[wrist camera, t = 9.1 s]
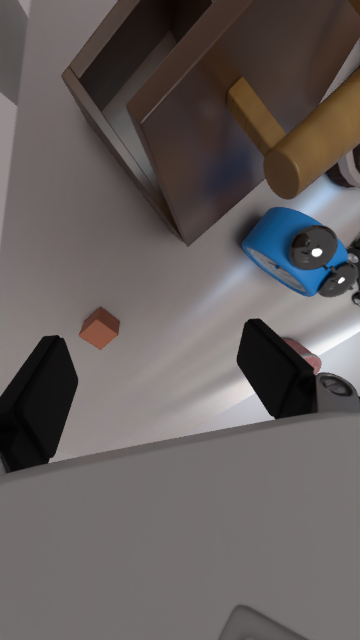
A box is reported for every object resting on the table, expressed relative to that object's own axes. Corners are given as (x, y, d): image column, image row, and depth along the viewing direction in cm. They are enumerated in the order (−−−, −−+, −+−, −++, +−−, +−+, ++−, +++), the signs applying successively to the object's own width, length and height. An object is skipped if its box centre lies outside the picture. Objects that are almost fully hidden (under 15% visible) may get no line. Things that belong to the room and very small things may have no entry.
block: (84, 321, 35) (78, 335, 31) (100, 306, 34) (96, 319, 30) (103, 335, 37) (100, 350, 33) (119, 321, 36) (118, 334, 32)
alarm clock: (227, 237, 32) (287, 260, 20) (253, 203, 30) (338, 204, 18) (271, 279, 38) (338, 316, 26) (296, 252, 36) (381, 279, 24)
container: (251, 362, 50) (269, 386, 43) (275, 329, 46) (299, 351, 39) (279, 368, 54) (300, 391, 47) (304, 339, 49) (331, 360, 43)
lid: (123, 104, 6) (232, 242, 6) (628, -484, 3) (786, -224, 4) (183, 241, 22) (212, 278, 22) (278, 156, 20) (310, 198, 20)
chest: (85, 118, 22) (60, 75, 15) (169, 15, 20) (192, -99, 12) (172, 233, 30) (184, 243, 23) (239, 171, 28) (278, 160, 20)
